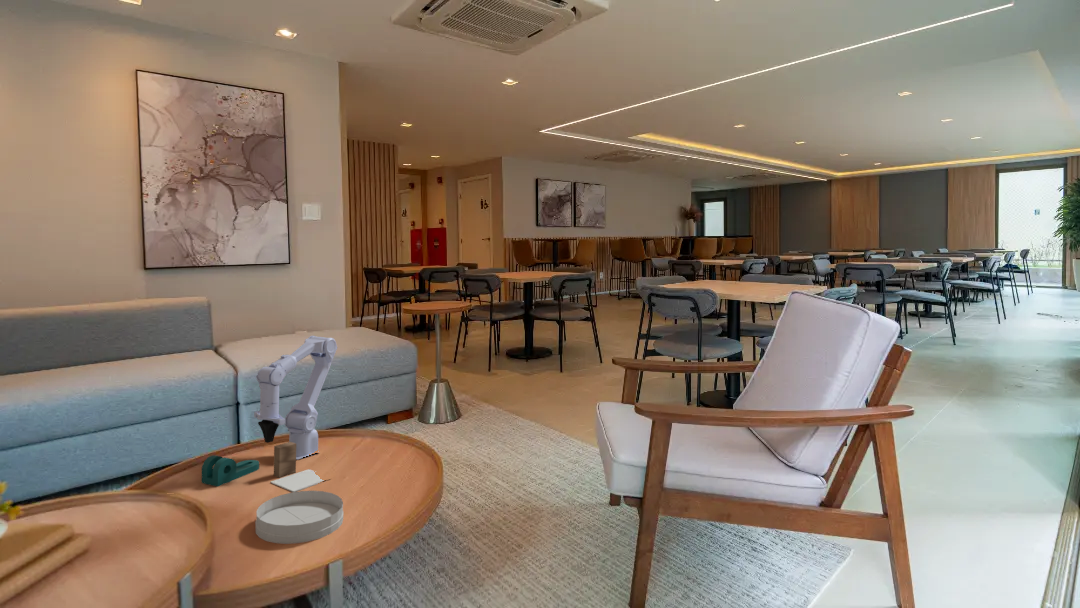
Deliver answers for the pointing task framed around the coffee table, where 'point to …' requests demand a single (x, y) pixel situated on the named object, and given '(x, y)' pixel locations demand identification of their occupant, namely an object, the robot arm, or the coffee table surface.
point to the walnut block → (284, 459)
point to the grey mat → (298, 481)
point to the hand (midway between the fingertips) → (269, 441)
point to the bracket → (225, 470)
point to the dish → (299, 517)
